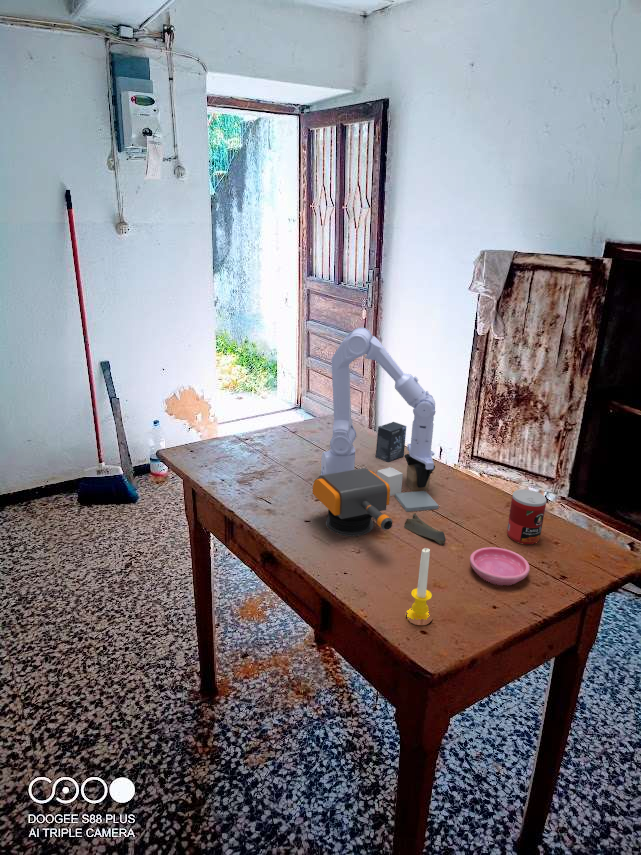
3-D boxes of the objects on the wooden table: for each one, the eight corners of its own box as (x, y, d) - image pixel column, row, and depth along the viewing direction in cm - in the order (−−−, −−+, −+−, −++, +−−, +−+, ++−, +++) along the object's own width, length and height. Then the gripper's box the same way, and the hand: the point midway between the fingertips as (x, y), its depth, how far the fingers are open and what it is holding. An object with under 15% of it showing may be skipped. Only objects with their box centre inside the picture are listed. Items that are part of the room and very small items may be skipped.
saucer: (457, 564, 133) (458, 552, 132) (501, 553, 138) (503, 541, 137) (493, 596, 122) (495, 583, 121) (540, 583, 127) (542, 570, 126)
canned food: (523, 548, 140) (530, 506, 136) (499, 532, 146) (505, 492, 143) (546, 541, 143) (554, 500, 139) (522, 526, 150) (528, 486, 146)
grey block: (387, 496, 164) (388, 477, 161) (376, 490, 167) (377, 470, 165) (401, 492, 166) (402, 473, 164) (389, 486, 170) (391, 467, 168)
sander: (357, 566, 131) (360, 515, 126) (310, 516, 152) (311, 470, 147) (413, 552, 137) (418, 503, 132) (361, 506, 158) (363, 462, 153)
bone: (400, 525, 149) (401, 512, 148) (416, 521, 151) (418, 509, 150) (431, 550, 138) (433, 537, 137) (448, 546, 141) (450, 533, 140)
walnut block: (412, 491, 167) (413, 472, 165) (405, 484, 171) (407, 465, 169) (428, 490, 168) (430, 471, 166) (421, 483, 173) (423, 464, 171)
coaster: (406, 511, 155) (406, 508, 155) (394, 496, 164) (394, 493, 163) (438, 508, 157) (438, 505, 157) (424, 493, 166) (425, 490, 165)
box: (388, 462, 186) (391, 431, 183) (375, 457, 190) (377, 426, 186) (404, 456, 191) (407, 425, 188) (391, 451, 195) (393, 421, 192)
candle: (405, 624, 112) (411, 553, 107) (406, 607, 117) (412, 538, 112) (432, 628, 112) (440, 556, 106) (432, 611, 117) (440, 541, 111)
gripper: (446, 446, 159) (441, 492, 164) (424, 428, 172) (420, 471, 177) (421, 448, 157) (417, 494, 162) (402, 430, 171) (398, 473, 175)
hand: (417, 482), depth 169 cm, fingers closed on walnut block, 5 cm apart
